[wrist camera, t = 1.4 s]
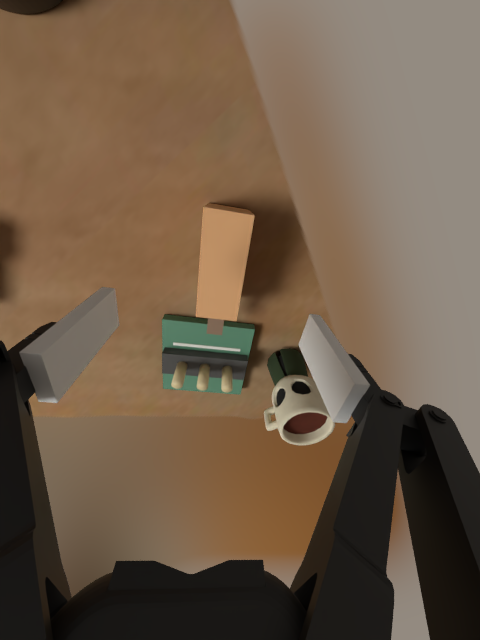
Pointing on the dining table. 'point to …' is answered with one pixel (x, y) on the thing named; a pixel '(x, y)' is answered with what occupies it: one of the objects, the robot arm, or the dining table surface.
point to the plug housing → (222, 263)
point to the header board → (201, 337)
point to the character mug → (296, 401)
